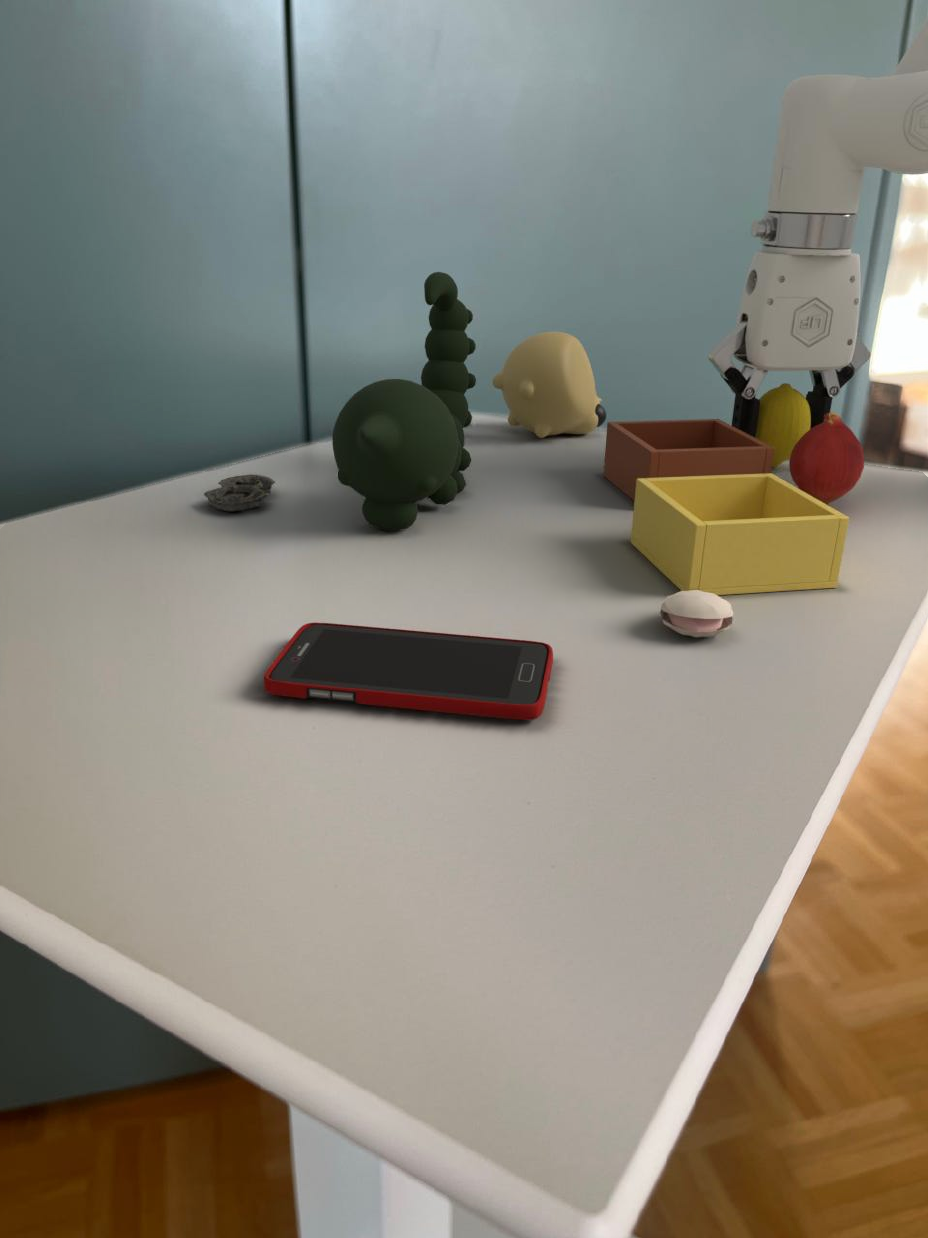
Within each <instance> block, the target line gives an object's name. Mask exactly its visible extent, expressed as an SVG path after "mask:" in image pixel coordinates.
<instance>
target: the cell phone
mask: <svg viewBox="0 0 928 1238" xmlns="http://www.w3.org/2000/svg"><path fill="white" fill-rule="evenodd" d="M553 662H554V651H553V647H552V646H551V645H550V644H549V643H546V642H542V641H534V640H525V639H516V638H515V639H514V638H512V639H511V638H501V637H490V636H479V635H468V634H457V633H447V632H446V633H445V632H434V631H422V630H412V629H411V630H409V629H401V628H399V629H398V628H388V627H387V628H386V627H378V626H377V627H375V626H366V625H354V624H344V623H343V624H342V623H332V622H308V623H305V624H303V625H301V626H300V627H299V628H298V629H297V631H296V632H295V633H294V634H293V636H292V637H291V638H290V640H288V642H287V644H286V645H285V646H284V647H283V649H282V650H281V651H280V653H279V654H278V655H277V656H276V658H275V659H274V660H273V662H272V663H270V666H268V668H267V669H266V671H265V673H264V675H263V689H264V691H265V692H266V693H269V694H271V695H273V696H280V697H281V696H283V697H288V698H289V697H290V698H297V699H317V700H327V701H328V700H329V701H338V702H339V701H340V702H348V703H349V702H350V703H356V704H360V705H369V706H378V707H379V706H380V707H388V708H398V709H410V710H419V711H428V712H429V711H430V712H439V713H448V714H457V715H458V714H460V715H468V716H469V715H470V716H478V717H479V716H480V717H488V718H500V719H511V720H522V721H524V720H526V721H527V720H528V721H529V720H537V719H538V718H540V717H541V716H542V714H543V712H544V709H545V706H546V699H547V696H548V689H549V687H548V686H549V682H550V680H551V674H552V670H553V664H554V663H553Z"/></svg>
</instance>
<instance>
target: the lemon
mask: <svg viewBox="0 0 928 1238" xmlns="http://www.w3.org/2000/svg"><path fill="white" fill-rule="evenodd" d="M758 399H759V401H760V407H759V414H758V422H757V429H756V436H755V438H756V439H758V440H760V441H762V442H764V443H766V444H768V445H770V446H772V447H774V454H773V461H772V468H777V467H779V466H780V465H781V464H782V463H784V462H786V461H789V460H790V456H791V452H792V450H793V448H794V446H795V445H796V443H797V442H798V441H799V439H800V438H801V437H802V436H803V435H804V434H805V433H806V432H807V431H809V430H810V426H811V414H810V407H809V404H808V402H807V400H806V396H804V394H802V393H801V392H800V391H799V390H797V389H795V388H793V387H792V385H791V384H790V383H781V384H780V385H779V386H777V387H774V388H771V389H769V390H768V391H765V393H763V394H762V395H761V396H760V397H759V398H758Z"/></svg>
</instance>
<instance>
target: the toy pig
mask: <svg viewBox="0 0 928 1238" xmlns="http://www.w3.org/2000/svg"><path fill="white" fill-rule="evenodd" d="M492 386H493V387H494V388H495V389H498V390H501V393H502V397H503V400H504V402H505V404H506V407H507V409H508V410H509V414H508V417H507V422H508V424H509V426H510V427H518V426H522V427H523V428H525V429H526V430H527V431H528V432H531V433H534V434H535V435H536V437H538V438H541V439H542V438H546V437H547V436H556V435H560V434H568V435H585V434H589V433H591V432H593V431H594V430H596V429H597V428H599V427H601V426H603V424H605V421H606V420H607V412H606V409H605V407H604V406H603V405H601V403H602V401H603V400H602V398H601V397H599V396H598V395H597V391H596V383H595V378H594V373H593V369H592V365H591V362H590V359H589V357H588V355H587V352H586V350H585V348H584V346H583V344H582V342H581V341H580V340H579V339H578V338H577V337H575V336H574V335H573V334H570V333H567V332H564V331H563V332H562V331H546V332H541V333H536V334H534V335H532V336H529V337H527V338H525V339H524V340H522V341H521V342H520V343H518V344H517V345H516V346H515V347H514V348H513V349H512V351H511V352H510V353H509V355H508V356H507V358H506V360H505V362H504V364H503V368H502V371H500V372H499V373H496V374H495V376H494V377H493V378H492Z"/></svg>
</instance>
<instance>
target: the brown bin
mask: <svg viewBox="0 0 928 1238" xmlns="http://www.w3.org/2000/svg"><path fill="white" fill-rule="evenodd" d="M606 423H607V424H606V438H605V447H604V460H603V461H604V462H603V477H604V478H605V479H607V480H608V481H609V482H610V483H611V484H613V485H614V486H615V487H616V488H617V489H619V490H620V491H621V492H622V493H624V494H625V495H626V496H627V497H628V498H630V499H631V500H632V501H633V502H635V491H636V480H637V479H639V478H645V479H646V478H662V477H688V476H714V475H740V474H768V473H772V468H773V467H772V461H773V454H774V447H772V446H770V445H768V444H766V443H764V442H762V441H760V440H758V439H756V438H754V437H752V436H750V435H749V434H747V433H745V432H743V431H741V430H739V429H737V428H735V427H733V426H732V424H729V423H727V422H725V421H724V420H721V419H719V418H704V419H703V418H701V419H699V418H698V419H665V420H628V421H627V420H626V421H607V422H606Z"/></svg>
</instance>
